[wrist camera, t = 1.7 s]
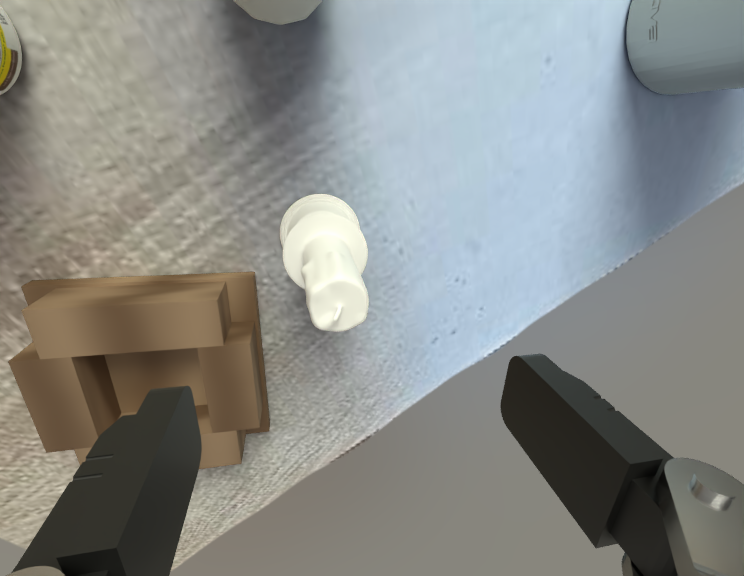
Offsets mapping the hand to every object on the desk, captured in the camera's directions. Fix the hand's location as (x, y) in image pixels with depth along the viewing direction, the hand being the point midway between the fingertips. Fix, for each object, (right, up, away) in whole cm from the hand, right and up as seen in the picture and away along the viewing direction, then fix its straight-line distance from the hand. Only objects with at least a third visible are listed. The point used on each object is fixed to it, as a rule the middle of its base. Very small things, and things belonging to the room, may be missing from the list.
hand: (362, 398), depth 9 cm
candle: (-3, +6, +16) cm, 17 cm away
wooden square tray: (-14, -2, +17) cm, 22 cm away
